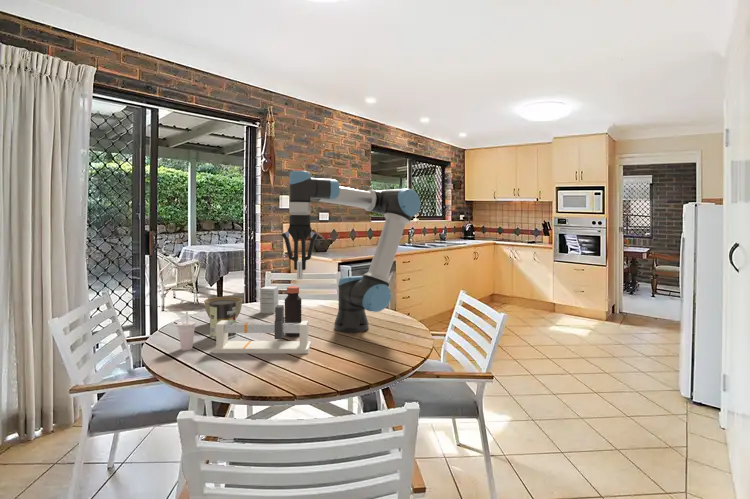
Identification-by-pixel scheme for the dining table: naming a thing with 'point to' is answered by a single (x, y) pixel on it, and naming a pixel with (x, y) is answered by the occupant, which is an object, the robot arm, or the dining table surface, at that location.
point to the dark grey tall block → (279, 321)
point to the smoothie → (186, 333)
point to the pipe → (260, 328)
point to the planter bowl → (238, 300)
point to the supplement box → (268, 299)
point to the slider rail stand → (261, 343)
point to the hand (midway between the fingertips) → (299, 278)
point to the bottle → (292, 308)
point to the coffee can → (222, 315)
